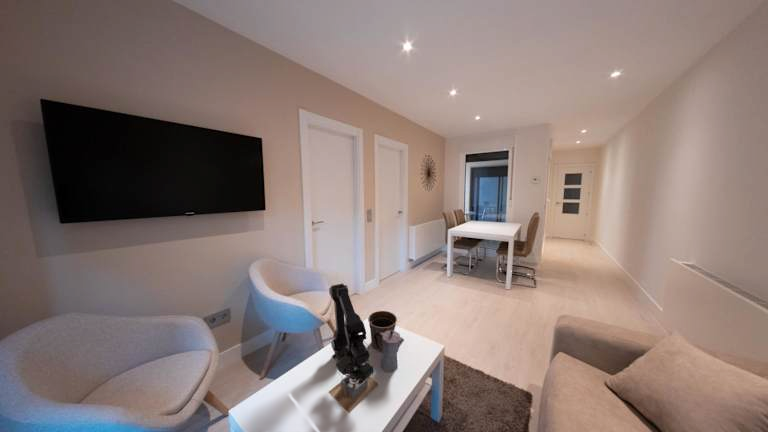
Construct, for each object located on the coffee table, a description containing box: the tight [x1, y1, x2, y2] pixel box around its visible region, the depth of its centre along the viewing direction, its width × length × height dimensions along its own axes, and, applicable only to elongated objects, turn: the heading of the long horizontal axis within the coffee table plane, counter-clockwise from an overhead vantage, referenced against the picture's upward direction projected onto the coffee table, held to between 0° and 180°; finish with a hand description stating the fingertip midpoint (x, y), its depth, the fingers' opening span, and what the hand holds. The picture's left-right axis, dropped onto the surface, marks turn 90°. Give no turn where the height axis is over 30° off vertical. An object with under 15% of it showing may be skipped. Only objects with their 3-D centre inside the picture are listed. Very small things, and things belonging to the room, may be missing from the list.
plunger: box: [347, 369, 361, 390], centre depth 104 cm, size 6×6×7 cm
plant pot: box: [367, 310, 398, 353], centre depth 132 cm, size 16×16×16 cm
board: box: [328, 375, 380, 414], centre depth 104 cm, size 14×18×1 cm
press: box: [340, 374, 368, 400], centre depth 103 cm, size 8×10×4 cm
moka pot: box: [374, 329, 405, 374], centre depth 116 cm, size 10×15×20 cm, turn 78°
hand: (354, 378), depth 103 cm, fingers closed on plunger, 3 cm apart
